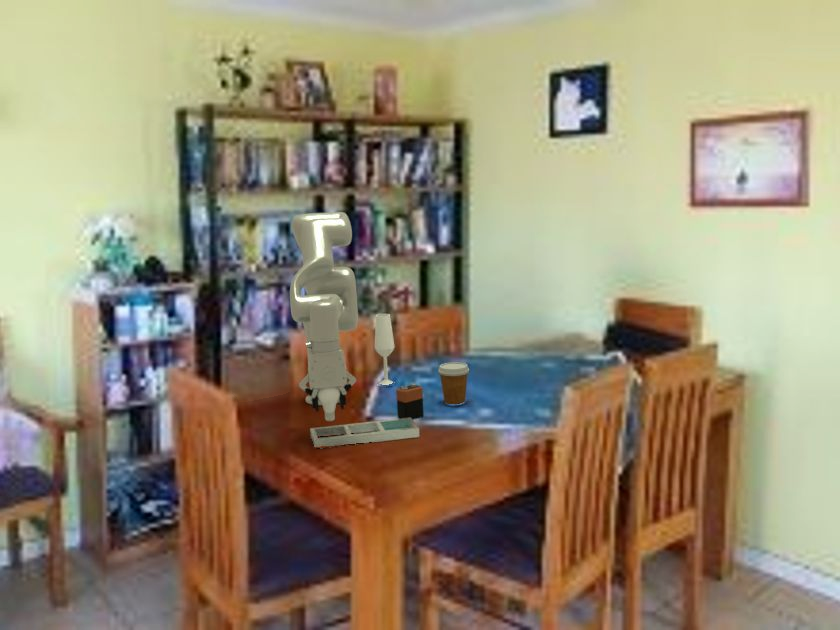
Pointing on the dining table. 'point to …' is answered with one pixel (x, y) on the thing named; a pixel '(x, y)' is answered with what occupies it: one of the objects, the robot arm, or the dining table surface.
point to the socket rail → (383, 429)
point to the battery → (410, 401)
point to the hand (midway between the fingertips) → (329, 408)
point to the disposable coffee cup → (454, 381)
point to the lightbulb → (329, 401)
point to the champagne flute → (384, 341)
